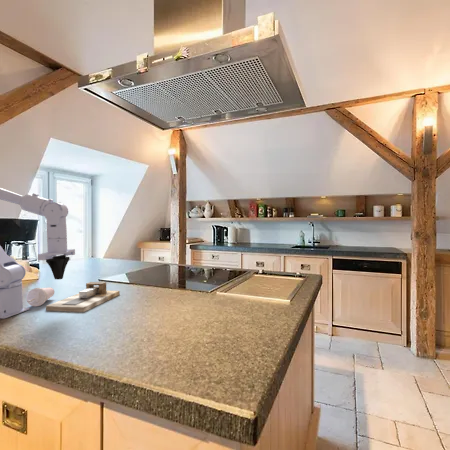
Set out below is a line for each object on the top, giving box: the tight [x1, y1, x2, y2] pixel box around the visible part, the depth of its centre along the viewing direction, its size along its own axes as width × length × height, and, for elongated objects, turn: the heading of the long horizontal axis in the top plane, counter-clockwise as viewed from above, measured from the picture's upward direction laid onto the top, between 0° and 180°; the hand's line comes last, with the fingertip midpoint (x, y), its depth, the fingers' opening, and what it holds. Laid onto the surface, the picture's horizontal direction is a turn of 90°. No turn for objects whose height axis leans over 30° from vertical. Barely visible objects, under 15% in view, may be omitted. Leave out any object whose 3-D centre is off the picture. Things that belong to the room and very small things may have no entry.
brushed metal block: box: [78, 285, 99, 298], centre depth 110 cm, size 9×3×2 cm, turn 170°
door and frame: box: [45, 281, 121, 313], centre depth 107 cm, size 22×14×6 cm, turn 170°
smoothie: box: [26, 287, 55, 308], centre depth 105 cm, size 6×6×14 cm
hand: (58, 279), depth 98 cm, fingers closed
